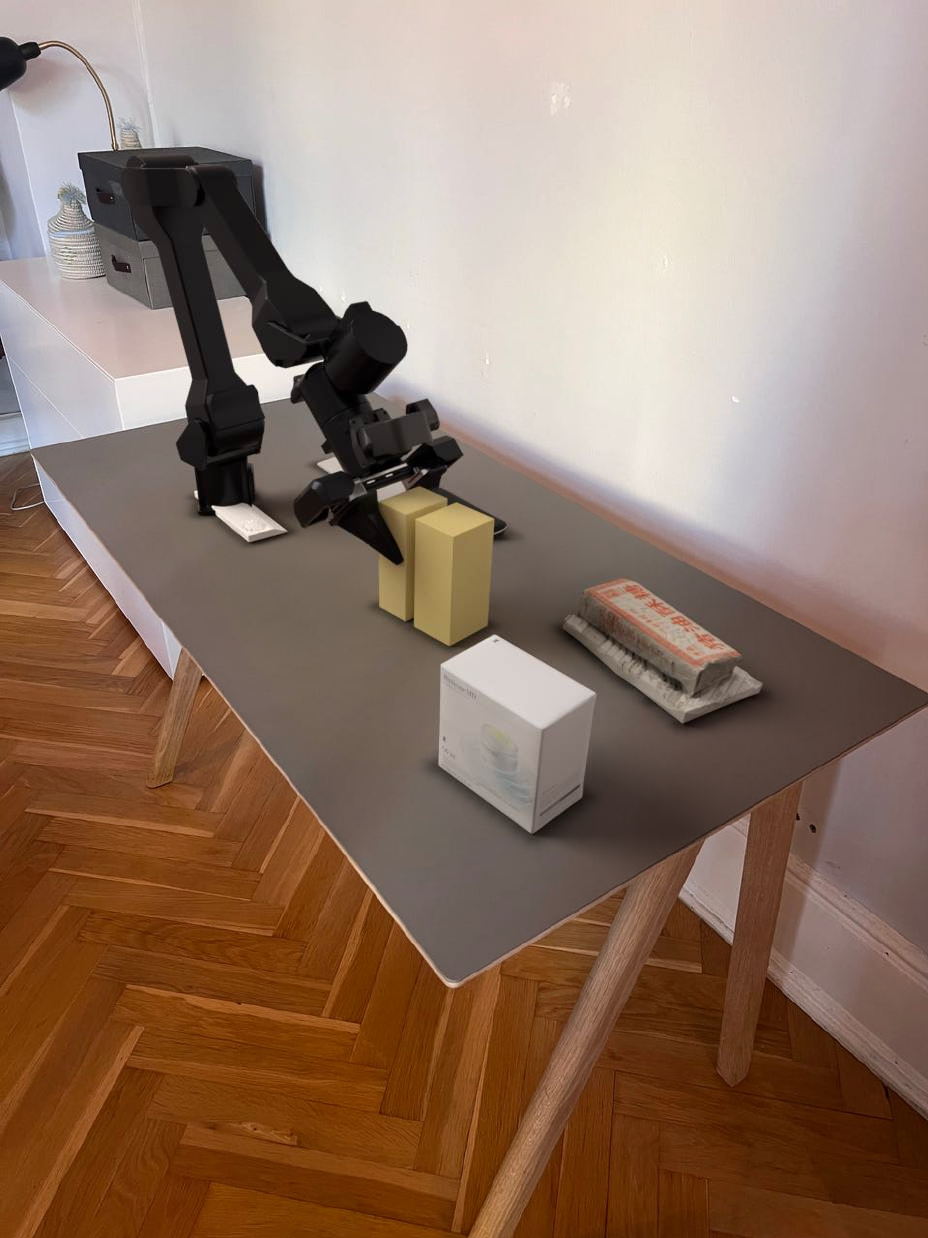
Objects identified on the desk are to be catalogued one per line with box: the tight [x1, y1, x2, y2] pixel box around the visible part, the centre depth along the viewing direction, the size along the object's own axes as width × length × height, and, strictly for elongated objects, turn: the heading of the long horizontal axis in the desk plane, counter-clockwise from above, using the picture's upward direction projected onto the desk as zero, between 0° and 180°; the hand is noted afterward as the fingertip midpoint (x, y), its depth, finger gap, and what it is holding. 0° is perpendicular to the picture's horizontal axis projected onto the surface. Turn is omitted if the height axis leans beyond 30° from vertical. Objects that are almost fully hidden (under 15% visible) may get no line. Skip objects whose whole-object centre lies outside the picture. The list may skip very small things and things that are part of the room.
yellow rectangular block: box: [378, 486, 447, 622], centre depth 92 cm, size 4×6×12 cm
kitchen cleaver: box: [317, 456, 508, 539], centre depth 118 cm, size 31×2×10 cm
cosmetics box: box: [438, 634, 598, 834], centre depth 70 cm, size 10×6×10 cm, turn 45°
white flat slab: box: [193, 489, 288, 543], centre depth 111 cm, size 5×15×1 cm, turn 37°
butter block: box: [413, 502, 494, 647], centre depth 89 cm, size 5×6×12 cm
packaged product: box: [562, 578, 764, 724], centre depth 87 cm, size 18×5×10 cm
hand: (421, 553), depth 91 cm, fingers closed on yellow rectangular block, 5 cm apart
